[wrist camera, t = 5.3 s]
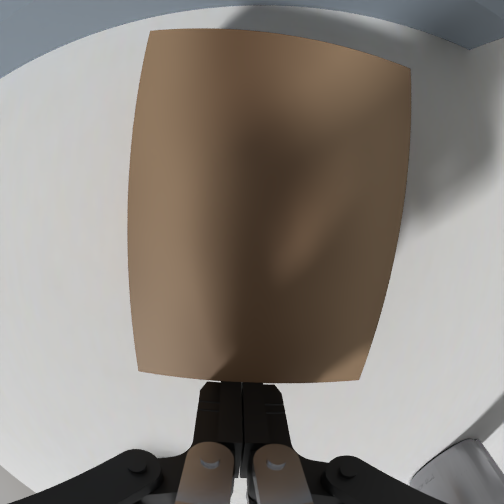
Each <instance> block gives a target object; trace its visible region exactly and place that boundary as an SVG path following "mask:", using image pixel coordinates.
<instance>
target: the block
mask: <svg viewBox="0 0 504 504" xmlns="http://www.w3.org/2000/svg"><path fill="white" fill-rule="evenodd" d="M410 130H411V72H410V68H407V67H405V66H402V65H400V64H397V63H394V62H392V61H389V60H386V59H383V58H380V57H377V56H374V55H371V54H368V53H364V52H361V51H358V50H354V49H351V48H347V47H343V46H339V45H335V44H331V43H327V42H322V41H317V40H313V39H307V38H302V37H296V36H290V35H284V34H277V33H269V32H260V31H249V30H235V29H169V30H155V31H150V34H149V38H148V43H147V47H146V52H145V56H144V61H143V66H142V72H141V77H140V83H139V89H138V95H137V102H136V109H135V117H134V125H133V134H132V144H131V155H130V168H129V186H128V271H129V289H130V303H131V315H132V325H133V334H134V342H135V350H136V357H137V364H138V371H140V372H146V373H153V374H160V375H167V376H175V377H183V378H192V379H203V380H215V381H231V382H254V383H318V382H337V381H351V380H359V378H360V376H361V373H362V370H363V367H364V365H365V362H366V359H367V356H368V353H369V350H370V347H371V344H372V341H373V338H374V335H375V331H376V328H377V325H378V321H379V318H380V314H381V311H382V307H383V303H384V300H385V296H386V292H387V288H388V284H389V280H390V275H391V271H392V266H393V262H394V257H395V252H396V247H397V242H398V237H399V231H400V225H401V219H402V212H403V206H404V198H405V190H406V182H407V172H408V161H409V148H410Z"/></svg>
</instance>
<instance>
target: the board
mask: <svg viewBox="0 0 504 504" xmlns="http://www.w3.org/2000/svg"><path fill="white" fill-rule="evenodd" d="M246 5H278V6H298V7H310V8H320V9H328V10H336V11H342V12H348V13H354V14H359V15H364V16H369V17H374V18H378V19H382V20H386V21H390V22H394V23H398V24H401V25H405V26H408V27H411V28H414V29H418V30H421V31H424V32H426V33H429V34H432V35H435V36H438V37H440V38H443V39H445V40H448V41H450V42H453V43H455V44H457V45H460V46H462V47H464V48H467V49H469V50H471V49H473V48H476V47H478V46H481V45H484V44H486V43H489V42H492V41H495V40H498V39H500V38H503V37H504V0H0V78H2V77H4V76H5V75H7V74H9V73H10V72H12V71H14V70H15V69H17V68H19V67H21V66H22V65H24V64H26V63H28V62H30V61H32V60H34V59H36V58H38V57H40V56H42V55H44V54H46V53H48V52H50V51H52V50H54V49H57V48H59V47H61V46H63V45H66V44H68V43H71V42H73V41H76V40H78V39H81V38H83V37H86V36H89V35H91V34H94V33H97V32H100V31H103V30H106V29H109V28H113V27H116V26H119V25H123V24H126V23H130V22H134V21H138V20H142V19H146V18H150V17H155V16H160V15H165V14H170V13H176V12H182V11H189V10H196V9H204V8H214V7H226V6H246Z"/></svg>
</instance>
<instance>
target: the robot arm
mask: <svg viewBox="0 0 504 504" xmlns="http://www.w3.org/2000/svg"><path fill="white" fill-rule="evenodd" d="M239 467H240V478H247V493H246V499H247V504H504V474H503V473H502V471H501V470H500V468H499V467H498V465H497V464H496V462H495V461H494V460H493V458H492V457H491V455H490V454H489V452H488V451H487V450H486V448H485V447H484V445H483V444H482V443H481V441H480V440H479V439H478V440H475V441H474V440H473V439H468V440H465V441H462V442H460V443H458V444H456V445H454V446H453V447H451V448H450V449H448V450H446V451H445V452H443V453H442V454H440V455H439V456H438V457H436V458H435V459H433V460H432V461H431V462H430V463H428V464H427V465H426V466H425V467H423V468H422V469H421V470H420V471H419V472H418V473H417V474H416V475H415V476H414V477H413V478H412V480H411V482H410V486H411V487H410V486H408V485H406V484H404V483H402V482H400V481H399V480H397V479H395V478H393V477H391V476H389V475H387V474H385V473H384V472H382V471H380V470H378V469H376V468H375V467H373V466H371V465H369V464H368V463H366V462H364V461H362V460H361V459H359V458H357V457H354V456H339V457H336V458H334V459H333V460H331V461H330V462H329V463H326V462H319V461H313V460H309V459H306V458H304V457H302V456H300V455H299V454H298V453H297V452H295V450H294V449H293V447H292V445H291V440H290V435H289V430H288V425H287V420H286V414H285V409H284V406H283V399H282V394H281V392H280V391H279V390H278V389H277V387H276V386H275V385H263V383H254V382H231V381H221V383H219V382H207V383H206V384H205V385H204V386H203V387H202V389H201V390H200V396H199V403H198V411H197V417H196V424H195V431H194V438H193V443H192V445H191V447H190V448H189V449H188V450H187V451H186V452H185V453H183V454H181V455H178V456H174V457H167V458H156V457H155V456H154V455H153V454H151V453H149V452H147V451H145V450H140V449H132V450H127V451H125V452H123V453H121V454H119V455H117V456H115V457H113V458H112V459H110V460H108V461H106V462H104V463H102V464H100V465H98V466H96V467H94V468H92V469H90V470H88V471H86V472H84V473H82V474H80V475H78V476H76V477H74V478H71V479H69V480H67V481H65V482H63V483H60V484H58V485H56V486H54V487H51V488H49V489H46V490H44V491H41V492H39V493H36V494H34V495H31V496H29V497H26V498H23V499H21V500H18V501H15V502H12V503H9V504H230V497H231V495H232V493H233V486H234V478H238V475H239Z"/></svg>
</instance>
